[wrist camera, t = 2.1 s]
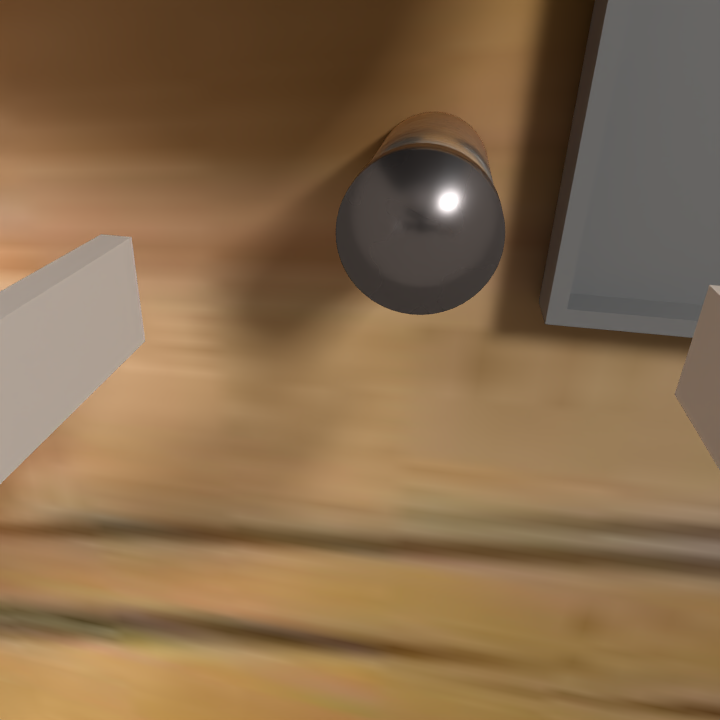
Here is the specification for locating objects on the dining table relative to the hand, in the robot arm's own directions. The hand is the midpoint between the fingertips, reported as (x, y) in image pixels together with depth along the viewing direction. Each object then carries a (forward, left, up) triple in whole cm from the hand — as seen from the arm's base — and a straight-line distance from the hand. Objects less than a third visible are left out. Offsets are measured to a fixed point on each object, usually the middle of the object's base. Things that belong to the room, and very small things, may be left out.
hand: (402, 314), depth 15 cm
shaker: (0, 0, -16) cm, 16 cm away
